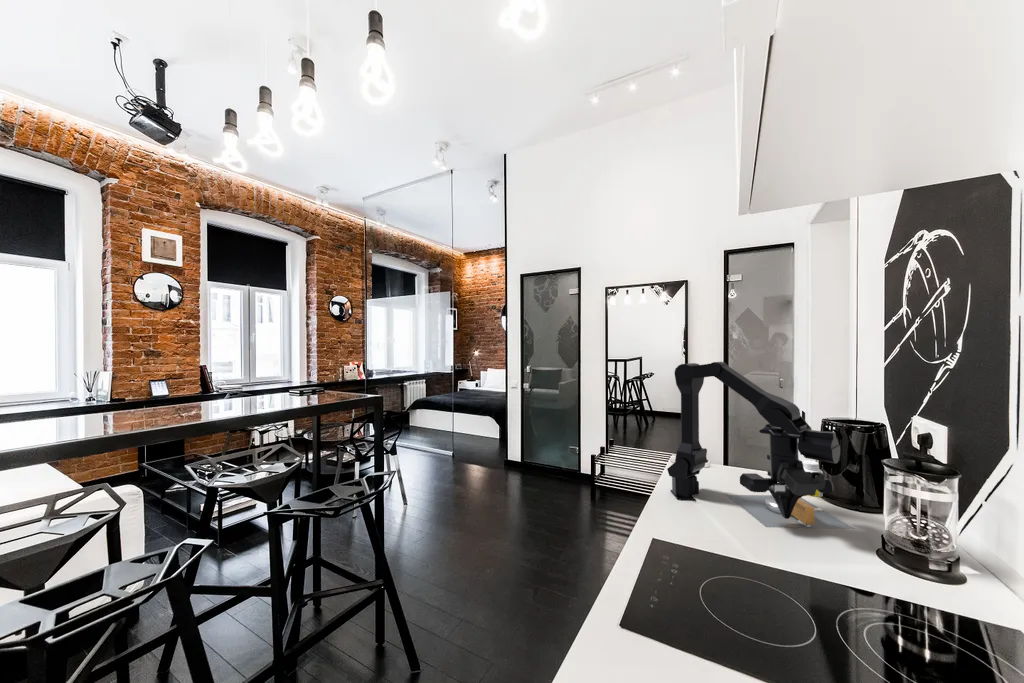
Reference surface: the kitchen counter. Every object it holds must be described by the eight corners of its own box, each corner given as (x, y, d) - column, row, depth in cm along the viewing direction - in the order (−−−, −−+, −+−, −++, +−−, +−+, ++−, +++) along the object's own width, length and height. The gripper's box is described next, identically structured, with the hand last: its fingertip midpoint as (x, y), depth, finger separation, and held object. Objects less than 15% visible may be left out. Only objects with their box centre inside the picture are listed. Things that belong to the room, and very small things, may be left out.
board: (766, 532, 91) (766, 525, 91) (726, 499, 111) (725, 493, 111) (855, 533, 90) (854, 526, 90) (798, 499, 110) (797, 494, 110)
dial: (759, 503, 105) (758, 485, 105) (789, 503, 104) (789, 486, 104) (792, 527, 91) (791, 507, 91) (827, 527, 90) (827, 507, 90)
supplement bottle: (797, 492, 115) (795, 458, 115) (819, 495, 113) (818, 460, 113) (803, 499, 110) (801, 464, 110) (827, 502, 108) (825, 466, 108)
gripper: (762, 463, 86) (765, 533, 86) (851, 464, 84) (853, 534, 84) (737, 450, 97) (739, 512, 97) (815, 450, 95) (817, 513, 95)
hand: (786, 518), depth 93 cm, fingers closed
